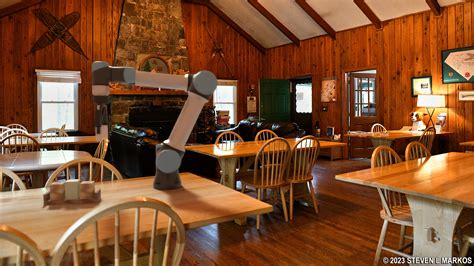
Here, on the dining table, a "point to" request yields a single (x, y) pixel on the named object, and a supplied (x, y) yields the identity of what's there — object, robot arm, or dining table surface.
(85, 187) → the cradle
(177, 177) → the robot arm
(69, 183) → the beige rectangular block
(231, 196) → the dining table surface
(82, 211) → the dining table surface
